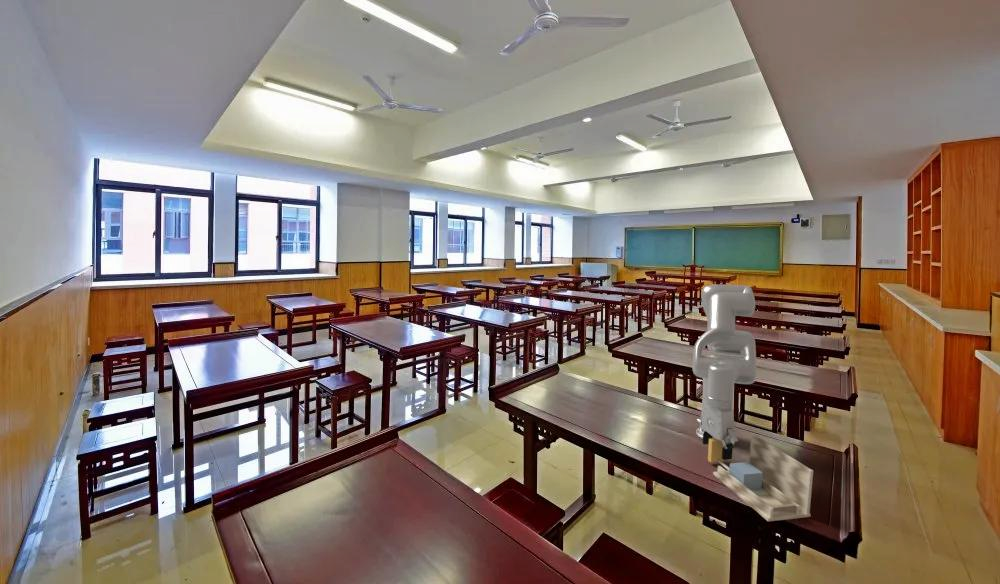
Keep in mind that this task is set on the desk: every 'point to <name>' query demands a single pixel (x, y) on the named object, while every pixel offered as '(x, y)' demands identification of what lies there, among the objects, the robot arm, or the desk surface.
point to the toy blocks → (736, 466)
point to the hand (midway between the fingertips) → (716, 451)
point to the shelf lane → (774, 483)
